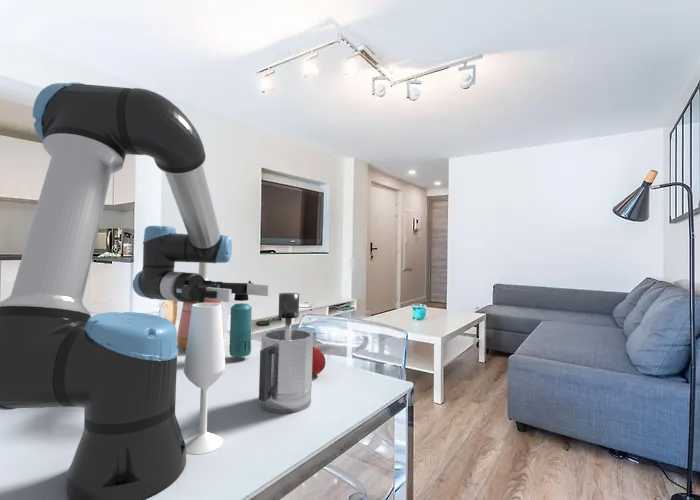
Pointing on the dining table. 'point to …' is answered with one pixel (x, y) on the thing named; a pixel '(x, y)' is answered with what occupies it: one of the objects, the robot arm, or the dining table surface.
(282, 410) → the press pot
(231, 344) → the beverage bottle
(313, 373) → the onion
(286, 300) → the plunger
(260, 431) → the dining table surface
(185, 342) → the vase
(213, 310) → the champagne flute
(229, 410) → the dining table surface
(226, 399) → the dining table surface
